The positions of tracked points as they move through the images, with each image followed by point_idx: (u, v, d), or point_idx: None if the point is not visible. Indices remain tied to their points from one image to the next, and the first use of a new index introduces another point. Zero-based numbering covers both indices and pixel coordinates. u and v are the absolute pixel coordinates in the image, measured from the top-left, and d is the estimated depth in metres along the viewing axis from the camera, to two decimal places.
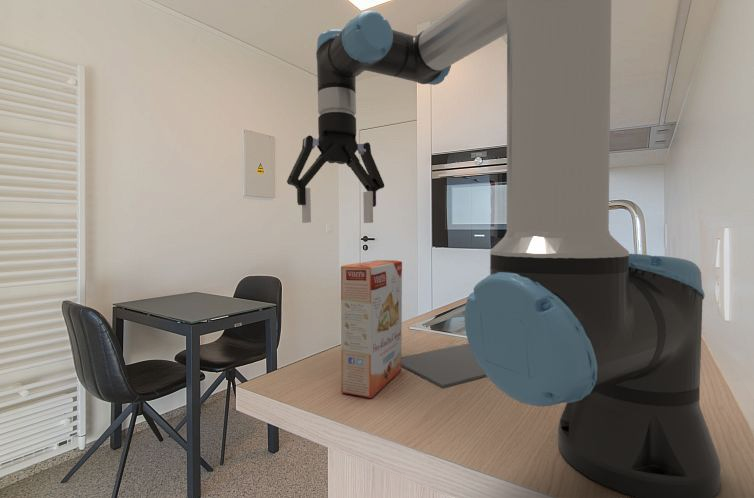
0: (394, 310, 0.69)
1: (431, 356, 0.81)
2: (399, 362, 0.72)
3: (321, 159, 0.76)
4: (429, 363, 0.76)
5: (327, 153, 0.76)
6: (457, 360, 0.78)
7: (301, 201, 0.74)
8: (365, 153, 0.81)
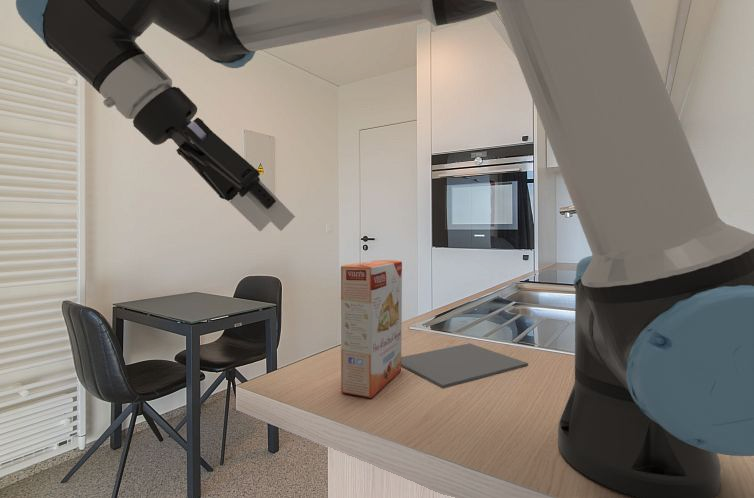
0: (394, 310, 0.69)
1: (431, 356, 0.81)
2: (399, 362, 0.72)
3: None
4: (429, 363, 0.76)
5: None
6: (457, 360, 0.78)
7: None
8: None
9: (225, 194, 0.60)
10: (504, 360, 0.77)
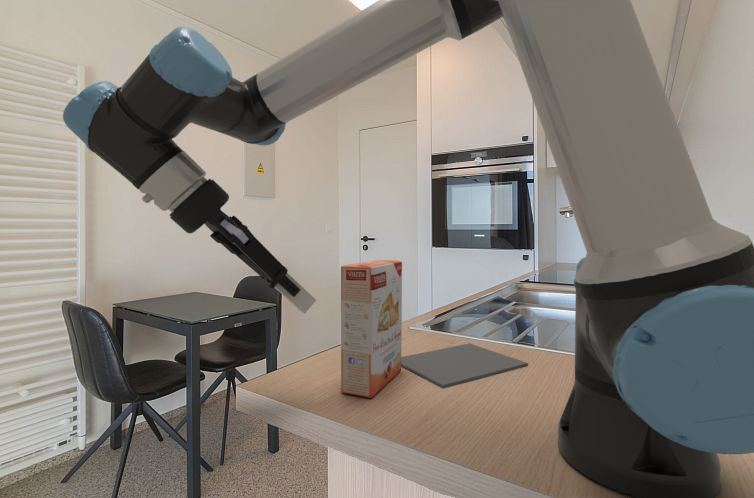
0: (394, 310, 0.69)
1: (431, 356, 0.81)
2: (399, 362, 0.72)
3: None
4: (429, 363, 0.76)
5: None
6: (457, 360, 0.78)
7: (297, 287, 0.59)
8: None
9: (265, 275, 0.59)
10: (504, 360, 0.77)
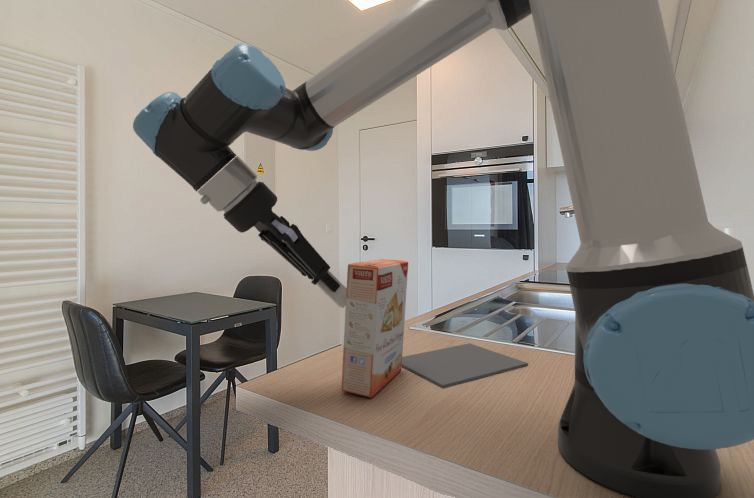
0: (398, 311, 0.69)
1: (431, 356, 0.81)
2: (400, 362, 0.72)
3: None
4: (429, 363, 0.76)
5: None
6: (457, 360, 0.78)
7: None
8: None
9: (307, 272, 0.63)
10: (504, 360, 0.77)
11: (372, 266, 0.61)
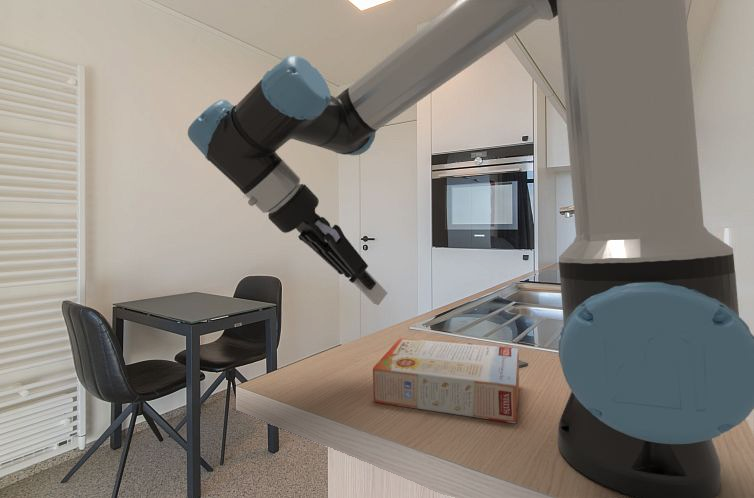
0: None
1: None
2: None
3: None
4: None
5: None
6: None
7: None
8: None
9: (344, 271, 0.65)
10: None
11: (515, 414, 0.53)
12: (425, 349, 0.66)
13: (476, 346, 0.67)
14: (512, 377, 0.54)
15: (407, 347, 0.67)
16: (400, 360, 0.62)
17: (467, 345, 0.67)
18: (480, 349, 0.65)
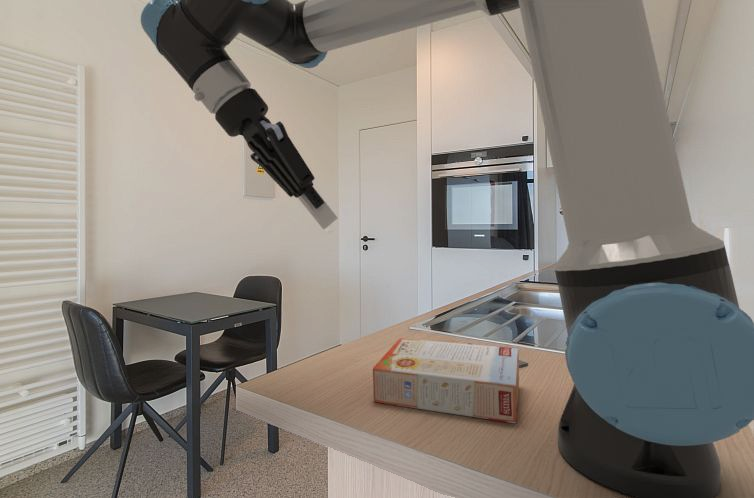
0: None
1: None
2: None
3: None
4: None
5: None
6: None
7: None
8: None
9: (292, 188, 0.63)
10: None
11: (515, 414, 0.53)
12: (425, 349, 0.66)
13: (476, 346, 0.67)
14: (512, 377, 0.54)
15: (407, 347, 0.67)
16: (400, 360, 0.62)
17: (467, 345, 0.67)
18: (480, 349, 0.65)
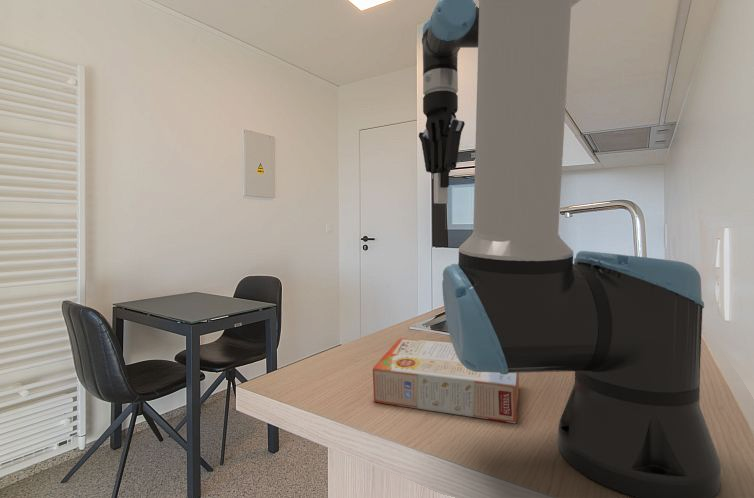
0: None
1: None
2: None
3: None
4: None
5: None
6: None
7: None
8: None
9: (435, 166, 0.87)
10: None
11: (515, 414, 0.53)
12: (425, 349, 0.66)
13: None
14: (512, 377, 0.54)
15: (407, 347, 0.67)
16: (400, 360, 0.62)
17: None
18: None
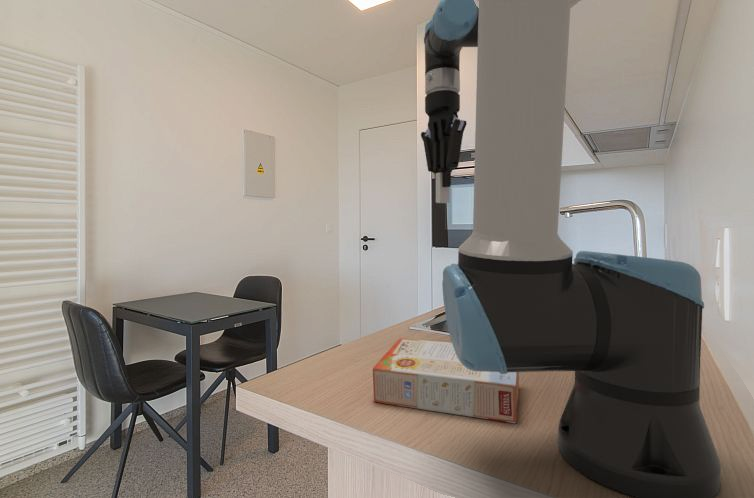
0: None
1: None
2: None
3: None
4: None
5: None
6: None
7: None
8: None
9: (437, 165, 0.87)
10: None
11: (515, 414, 0.53)
12: (425, 349, 0.66)
13: None
14: (512, 377, 0.54)
15: (407, 347, 0.67)
16: (400, 360, 0.62)
17: None
18: None
